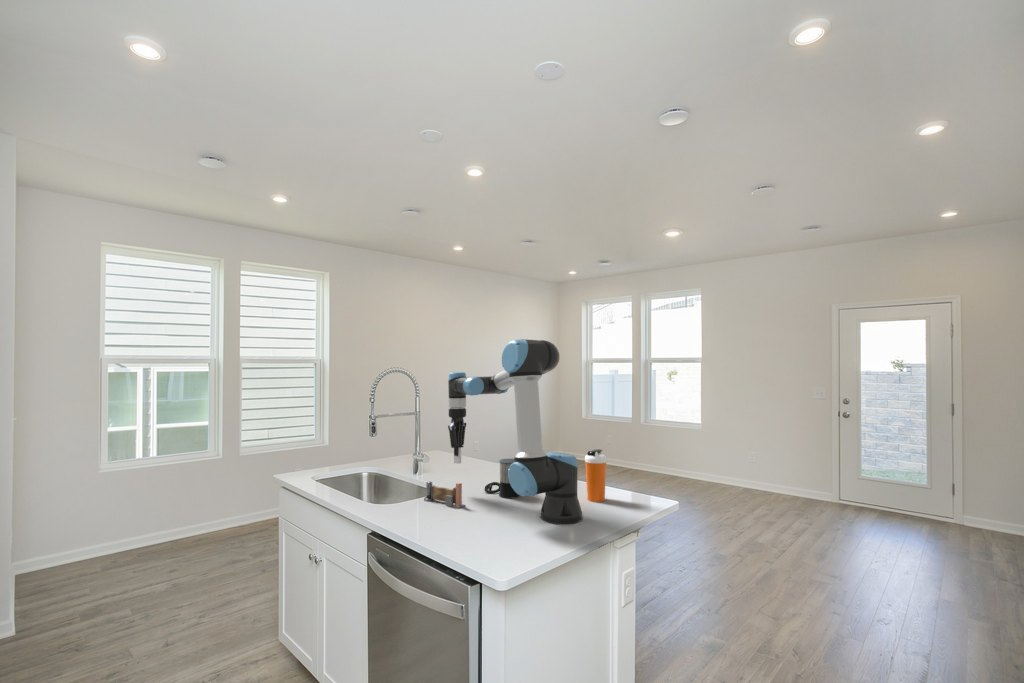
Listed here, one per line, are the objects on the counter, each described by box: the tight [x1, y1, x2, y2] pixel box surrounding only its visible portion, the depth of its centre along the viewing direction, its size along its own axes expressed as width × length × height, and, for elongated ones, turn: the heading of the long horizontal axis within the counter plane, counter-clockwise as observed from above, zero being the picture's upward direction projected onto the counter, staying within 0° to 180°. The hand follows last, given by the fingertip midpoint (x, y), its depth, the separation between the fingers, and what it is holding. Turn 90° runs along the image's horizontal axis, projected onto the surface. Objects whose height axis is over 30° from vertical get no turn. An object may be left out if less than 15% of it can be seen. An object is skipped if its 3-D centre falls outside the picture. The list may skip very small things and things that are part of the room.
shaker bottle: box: [584, 449, 608, 503], centre depth 204 cm, size 9×9×20 cm
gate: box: [431, 485, 456, 505], centre depth 199 cm, size 14×2×6 cm, turn 55°
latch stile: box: [445, 482, 466, 509], centre depth 195 cm, size 7×4×9 cm, turn 53°
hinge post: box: [423, 481, 436, 502], centre depth 204 cm, size 4×4×7 cm
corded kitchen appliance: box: [484, 458, 521, 499], centre depth 213 cm, size 14×16×15 cm
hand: (457, 463), depth 213 cm, fingers closed
